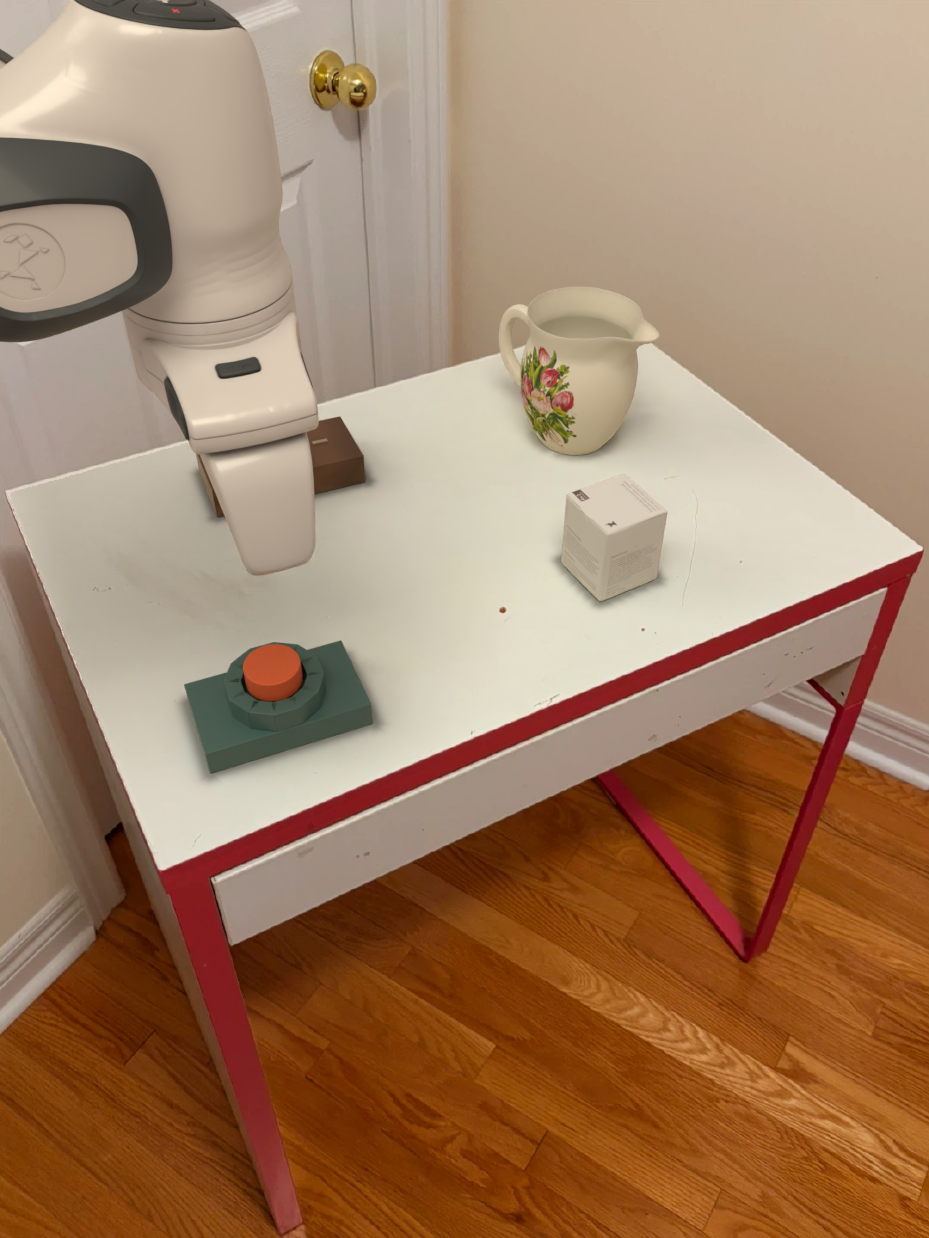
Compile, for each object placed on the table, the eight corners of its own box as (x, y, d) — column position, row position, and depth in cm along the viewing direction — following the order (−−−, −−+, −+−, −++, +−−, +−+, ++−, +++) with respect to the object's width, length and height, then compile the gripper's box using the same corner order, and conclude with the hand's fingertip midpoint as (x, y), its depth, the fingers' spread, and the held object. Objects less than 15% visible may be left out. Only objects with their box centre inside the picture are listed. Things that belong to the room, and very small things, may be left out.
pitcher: (534, 376, 111) (542, 252, 102) (671, 446, 102) (694, 317, 93) (461, 417, 106) (462, 289, 96) (600, 494, 97) (616, 362, 87)
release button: (254, 708, 73) (250, 691, 72) (240, 669, 76) (236, 652, 74) (309, 692, 74) (307, 675, 73) (293, 654, 77) (291, 637, 75)
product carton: (657, 580, 88) (670, 511, 83) (598, 604, 86) (608, 534, 81) (615, 539, 92) (625, 471, 87) (557, 561, 90) (564, 492, 85)
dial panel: (219, 524, 93) (214, 496, 91) (197, 467, 99) (191, 439, 97) (369, 488, 97) (367, 460, 95) (339, 436, 103) (336, 408, 101)
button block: (210, 773, 73) (200, 737, 70) (189, 703, 78) (179, 667, 75) (372, 724, 77) (370, 687, 74) (343, 659, 81) (339, 623, 78)
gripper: (121, 261, 62) (165, 455, 71) (196, 447, 48) (238, 656, 58) (227, 244, 64) (256, 435, 73) (328, 419, 50) (347, 626, 60)
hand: (249, 534), depth 65 cm, fingers closed
